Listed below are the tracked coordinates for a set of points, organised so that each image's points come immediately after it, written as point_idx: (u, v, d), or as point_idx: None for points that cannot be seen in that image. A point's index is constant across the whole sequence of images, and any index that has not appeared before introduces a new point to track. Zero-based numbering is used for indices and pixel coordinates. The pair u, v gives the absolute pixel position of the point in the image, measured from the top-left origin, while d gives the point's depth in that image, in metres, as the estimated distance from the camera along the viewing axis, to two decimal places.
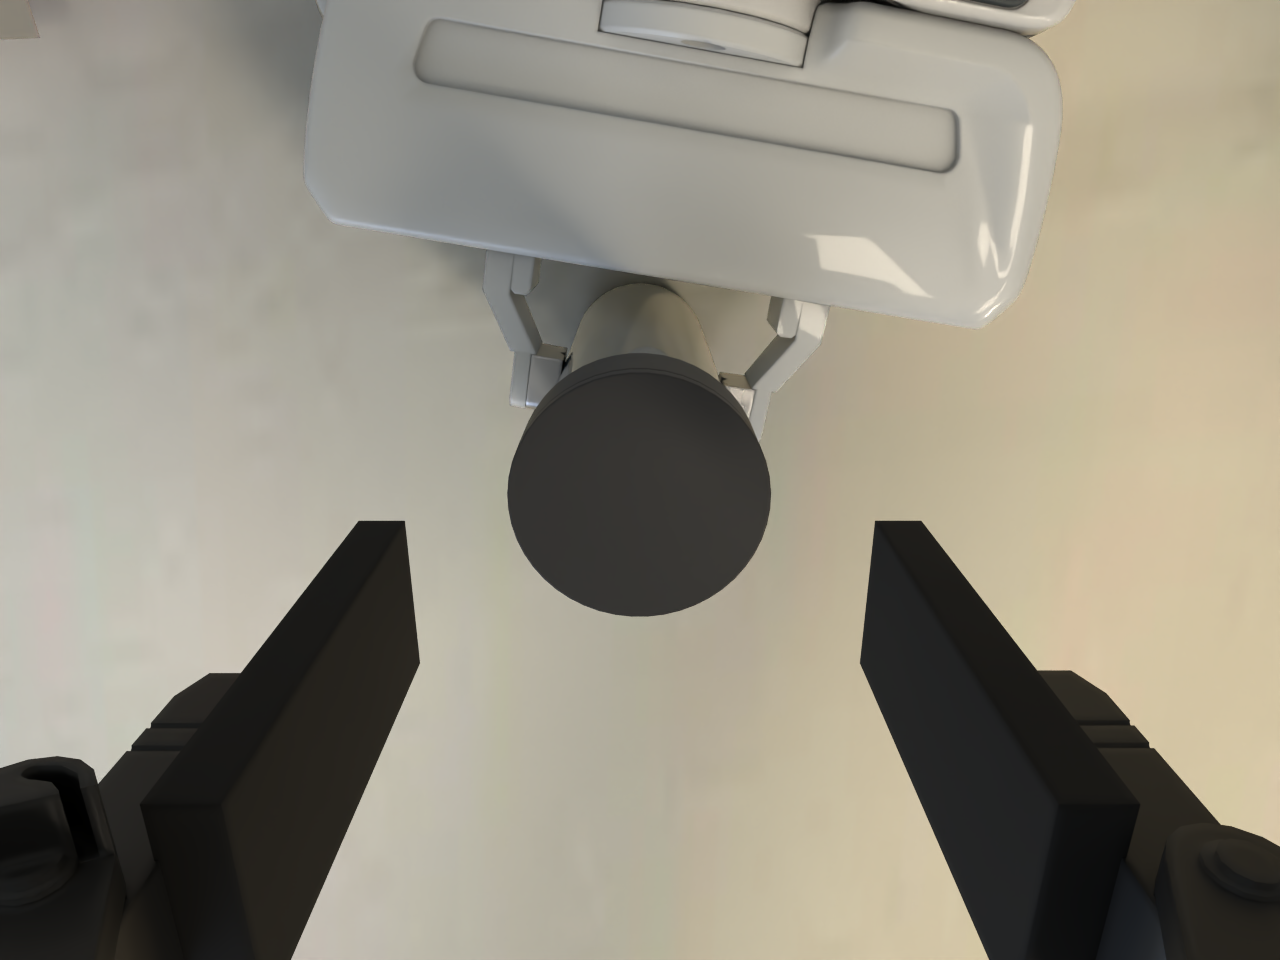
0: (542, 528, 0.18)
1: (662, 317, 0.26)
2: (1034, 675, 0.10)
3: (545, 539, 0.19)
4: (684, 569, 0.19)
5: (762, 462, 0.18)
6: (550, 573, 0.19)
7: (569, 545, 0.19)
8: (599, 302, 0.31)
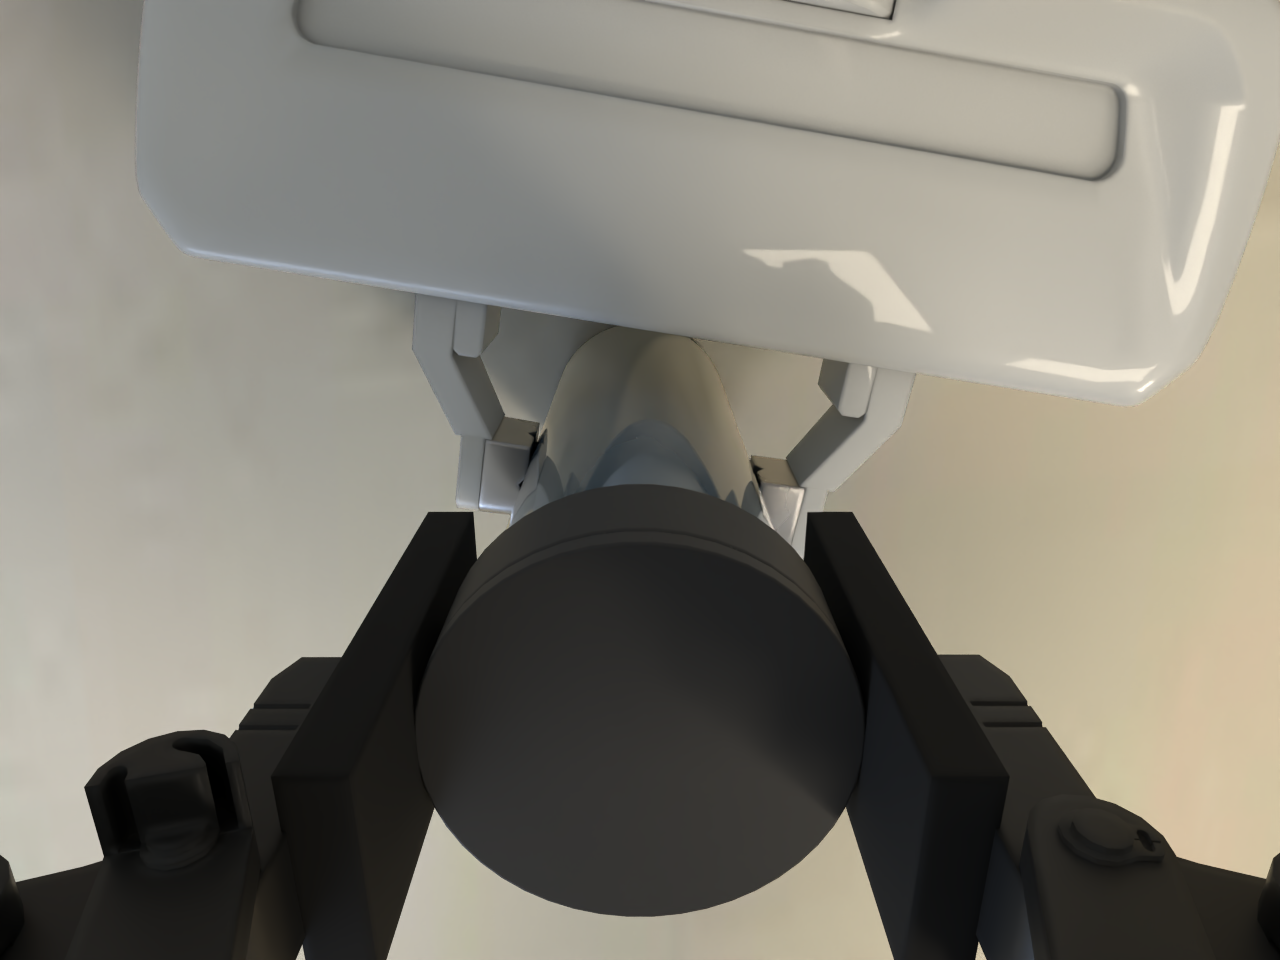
0: (475, 788, 0.11)
1: (672, 385, 0.18)
2: (932, 657, 0.10)
3: (480, 805, 0.11)
4: (715, 849, 0.11)
5: (854, 687, 0.10)
6: (490, 855, 0.11)
7: (521, 813, 0.11)
8: (586, 350, 0.23)
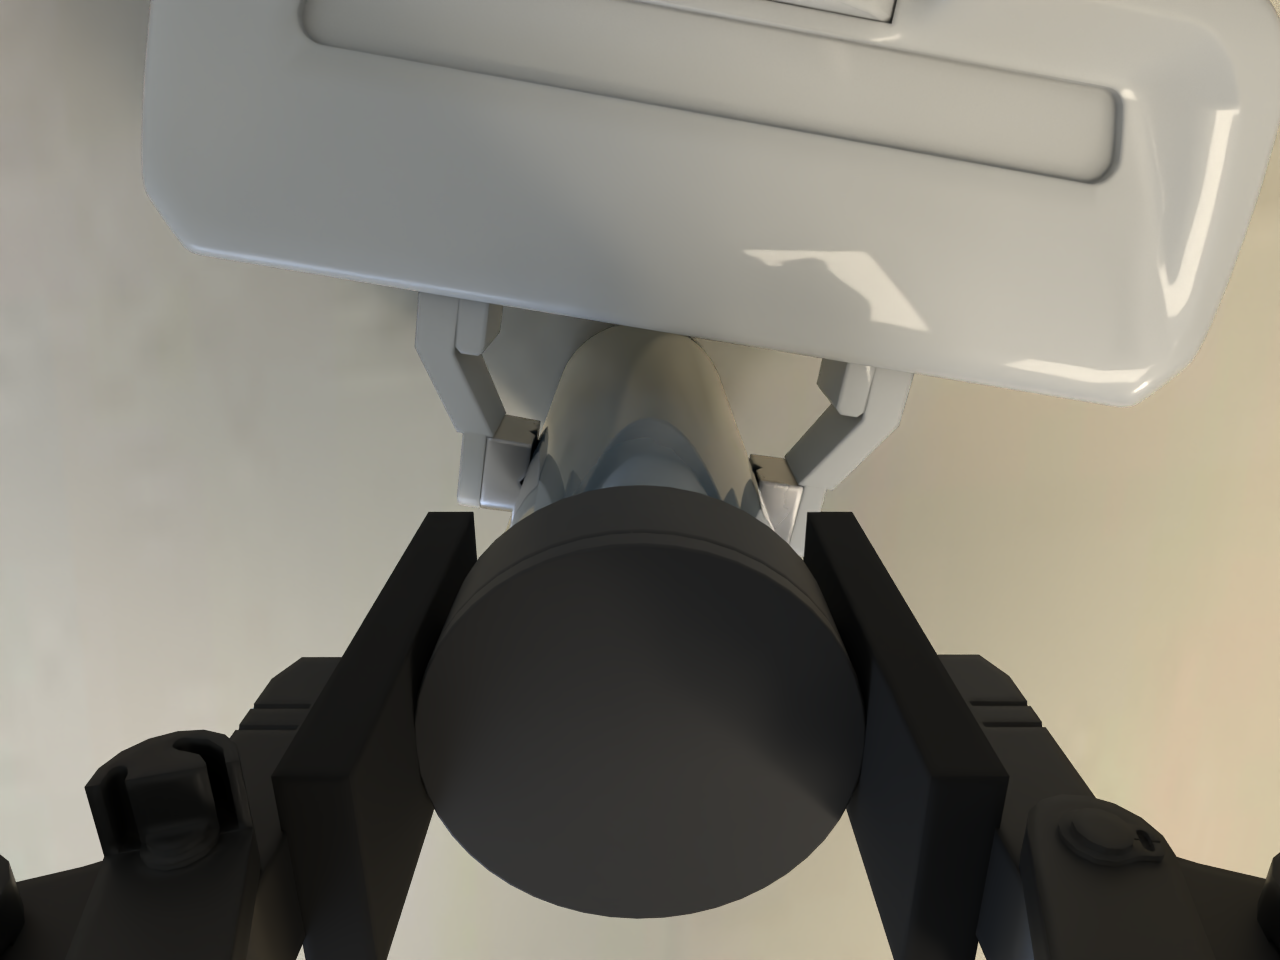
0: (767, 839, 0.11)
1: (672, 383, 0.18)
2: (932, 657, 0.10)
3: (782, 828, 0.11)
4: (709, 629, 0.10)
5: (456, 631, 0.10)
6: (836, 797, 0.11)
7: (772, 796, 0.11)
8: (587, 349, 0.23)
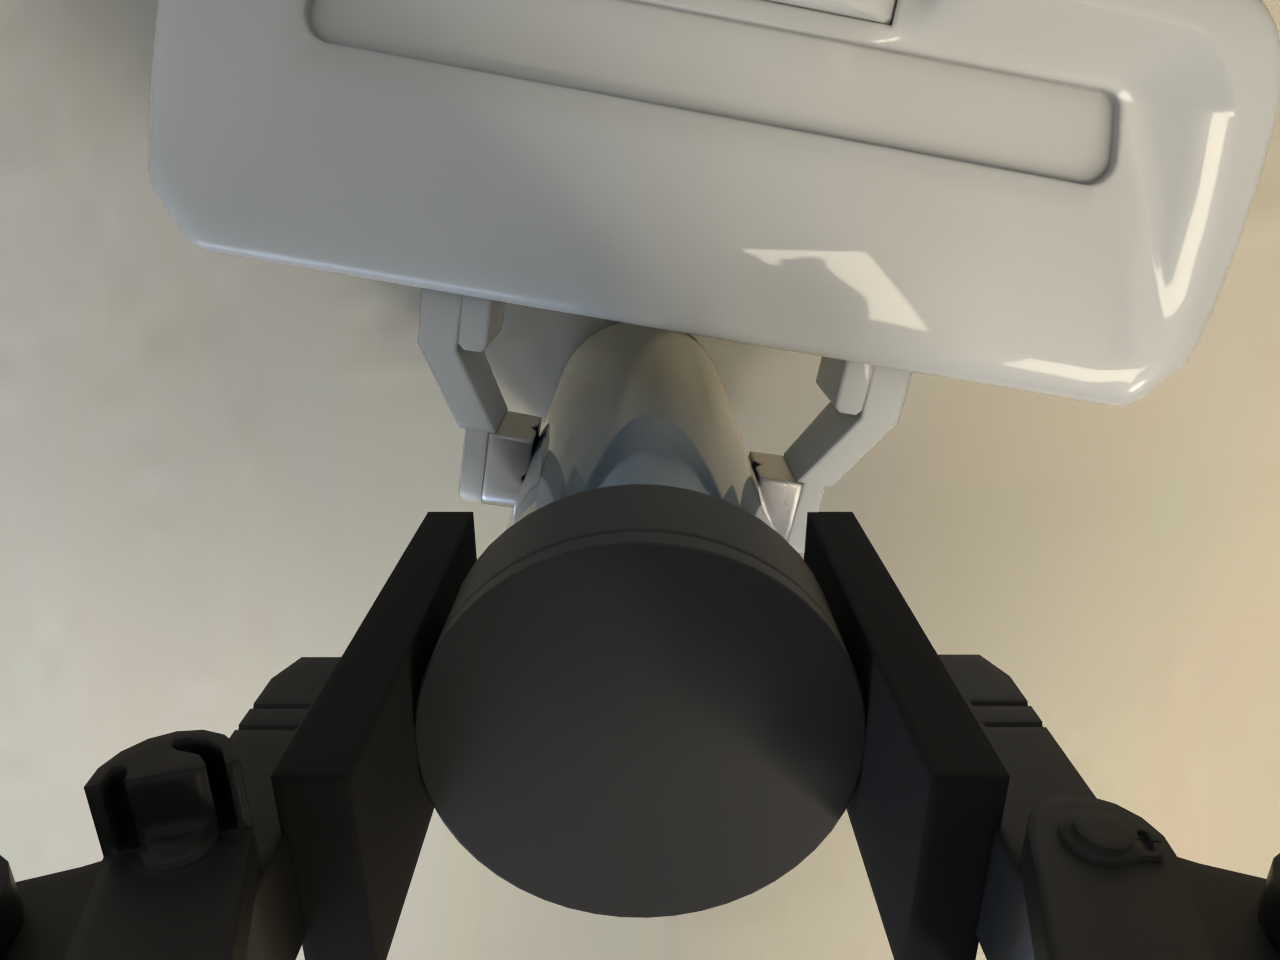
0: (665, 594, 0.10)
1: (673, 381, 0.18)
2: (932, 657, 0.10)
3: (643, 590, 0.10)
4: (490, 765, 0.11)
5: (621, 913, 0.12)
6: (574, 570, 0.10)
7: (613, 621, 0.10)
8: (588, 347, 0.23)
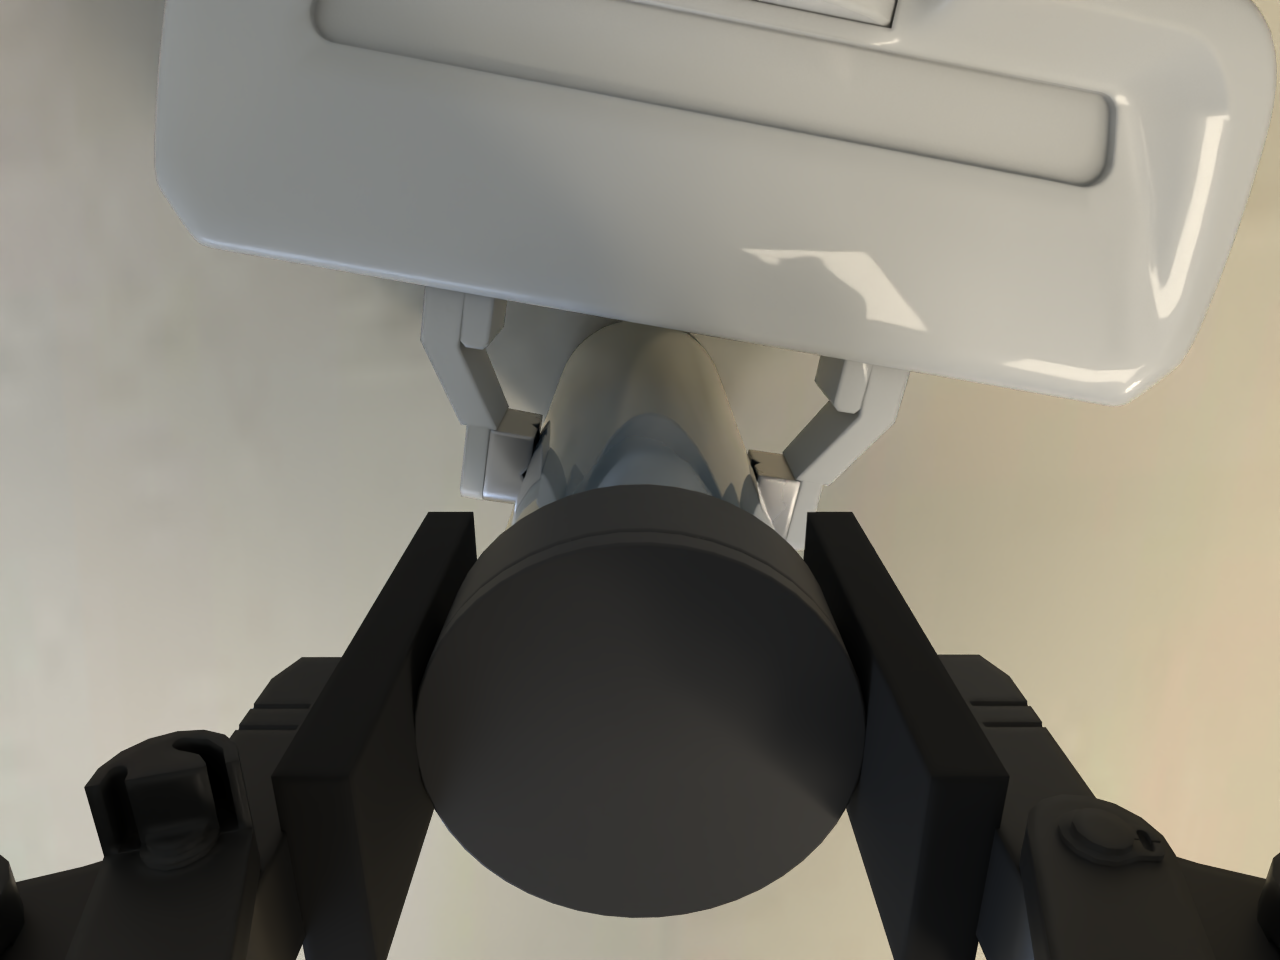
0: (486, 808, 0.11)
1: (673, 379, 0.18)
2: (932, 657, 0.10)
3: (494, 824, 0.11)
4: (734, 840, 0.11)
5: (843, 661, 0.10)
6: (513, 872, 0.11)
7: (536, 828, 0.11)
8: (588, 345, 0.23)
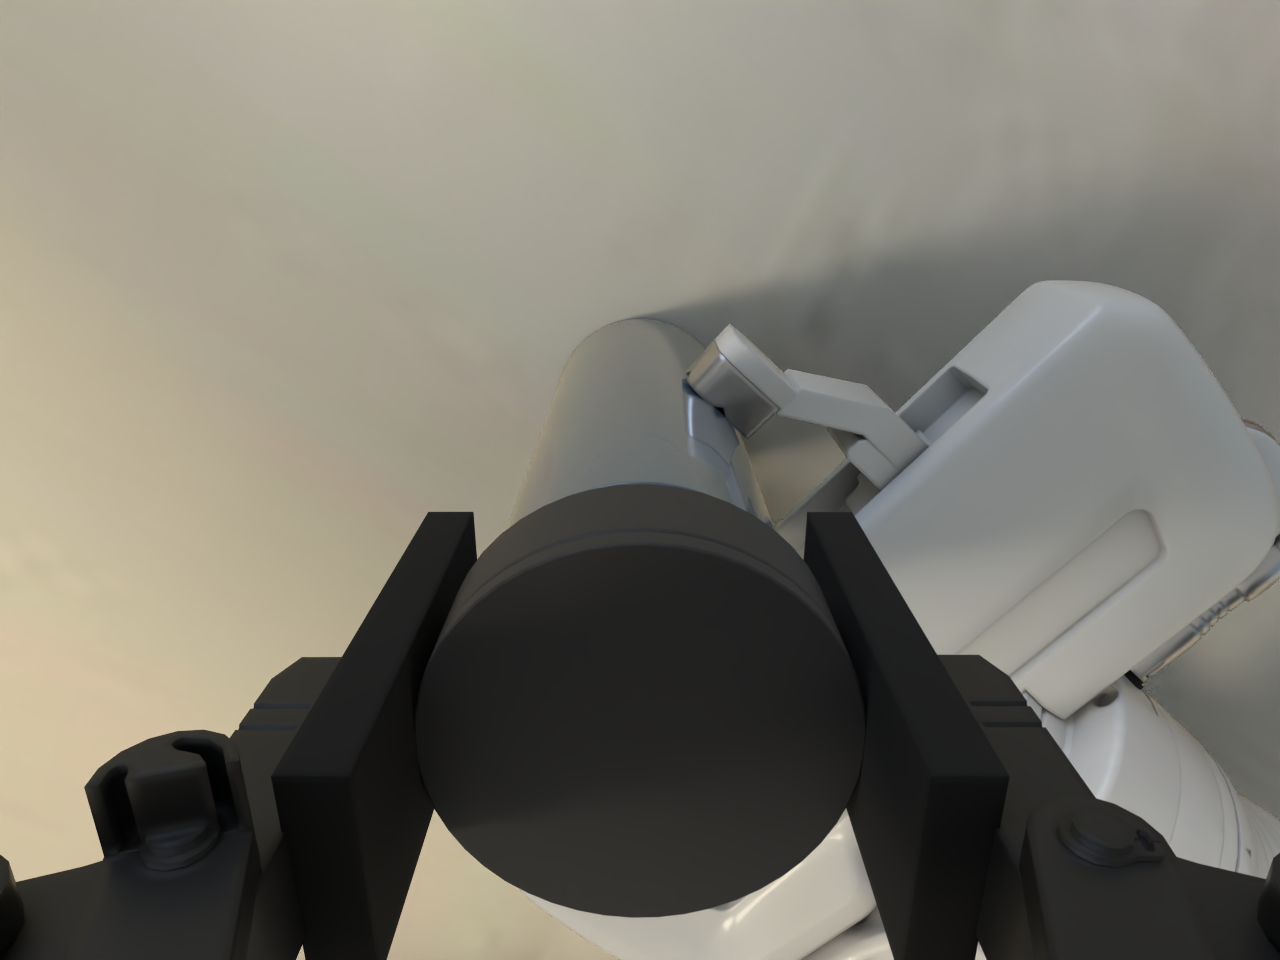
0: (486, 808, 0.11)
1: None
2: (932, 657, 0.10)
3: (494, 824, 0.11)
4: (734, 840, 0.11)
5: (844, 661, 0.10)
6: (513, 872, 0.11)
7: (536, 828, 0.11)
8: None
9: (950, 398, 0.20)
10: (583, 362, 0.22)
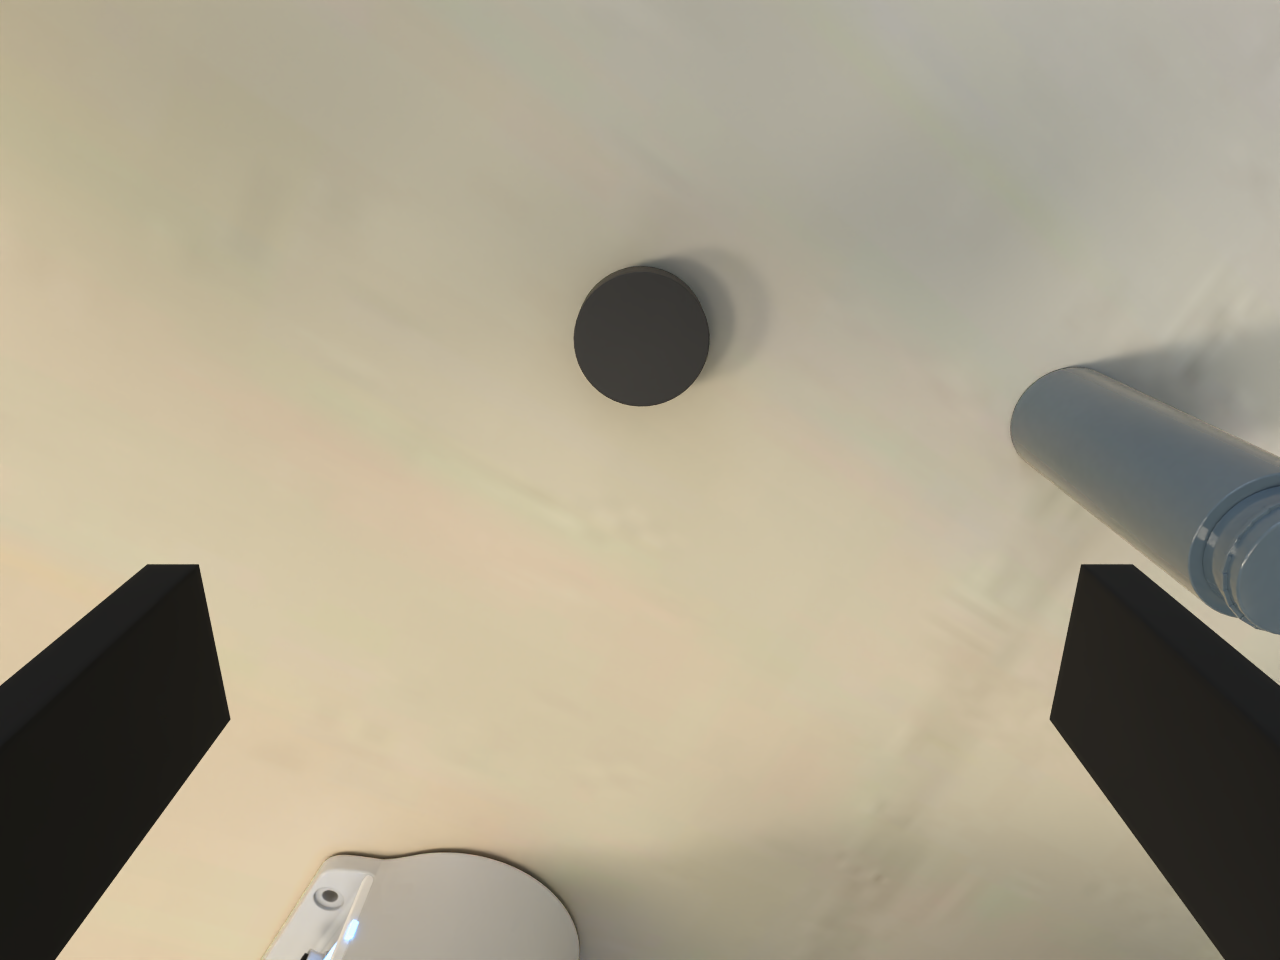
0: (594, 363, 0.36)
1: None
2: None
3: (596, 369, 0.36)
4: (670, 375, 0.36)
5: (700, 310, 0.35)
6: (602, 387, 0.36)
7: (609, 370, 0.36)
8: None
9: None
10: (1081, 398, 0.34)
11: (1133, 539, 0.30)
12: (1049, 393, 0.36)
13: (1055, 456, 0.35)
